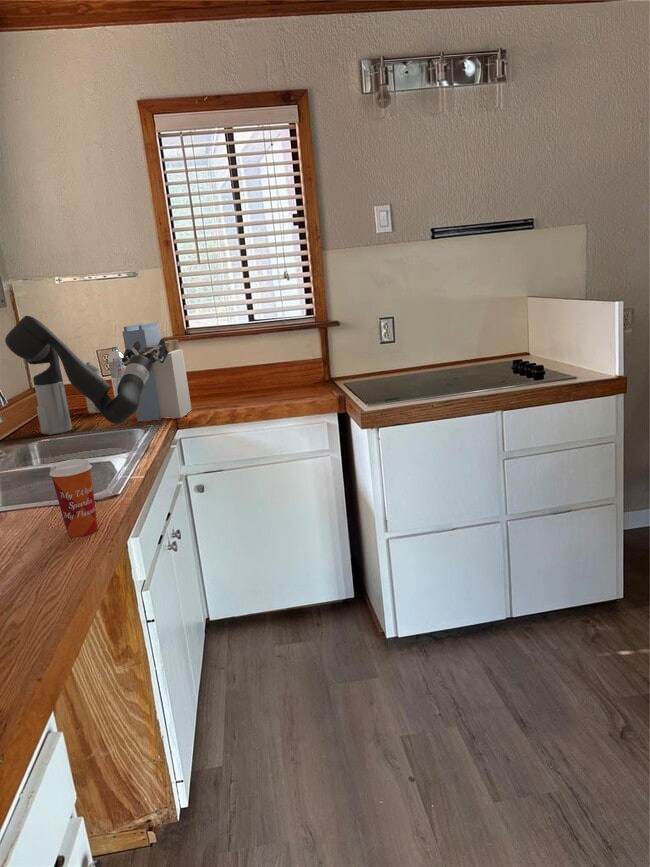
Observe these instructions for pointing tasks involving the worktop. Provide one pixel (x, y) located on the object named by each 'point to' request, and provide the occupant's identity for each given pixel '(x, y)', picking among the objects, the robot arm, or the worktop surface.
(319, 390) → the worktop surface
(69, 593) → the worktop surface
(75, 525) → the paper cup
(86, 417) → the worktop surface
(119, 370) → the water bottle
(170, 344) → the bar
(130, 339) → the tower
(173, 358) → the white tall block
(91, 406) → the aerosol can
